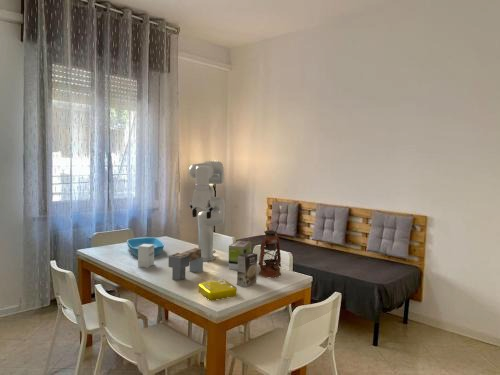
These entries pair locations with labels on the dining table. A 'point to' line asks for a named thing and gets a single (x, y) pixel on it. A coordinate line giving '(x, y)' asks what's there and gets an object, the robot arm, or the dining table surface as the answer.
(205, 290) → the element tile
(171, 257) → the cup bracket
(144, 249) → the supplement box
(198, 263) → the grey blue block
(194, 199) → the robot arm
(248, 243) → the tea box
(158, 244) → the casserole dish
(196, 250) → the rail
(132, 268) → the dining table surface
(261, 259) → the lantern
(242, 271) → the coffee box
